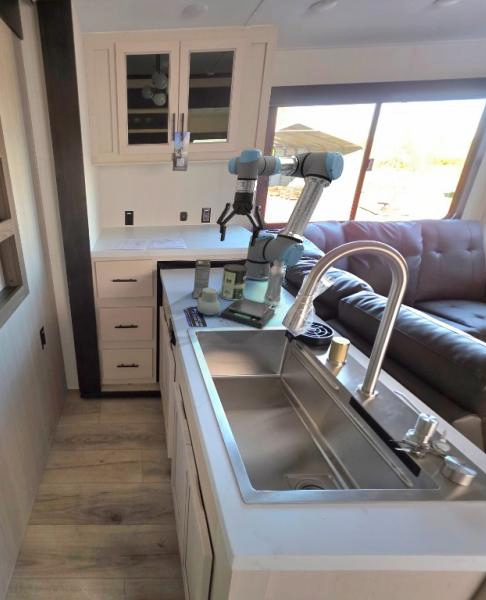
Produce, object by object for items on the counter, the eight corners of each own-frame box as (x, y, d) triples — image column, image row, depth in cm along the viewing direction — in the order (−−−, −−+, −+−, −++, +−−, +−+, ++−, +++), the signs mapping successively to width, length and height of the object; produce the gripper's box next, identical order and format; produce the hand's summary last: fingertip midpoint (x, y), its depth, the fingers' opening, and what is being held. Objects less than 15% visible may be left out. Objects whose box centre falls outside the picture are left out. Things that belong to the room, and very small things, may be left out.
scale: (236, 303, 138) (236, 298, 137) (274, 314, 129) (275, 308, 128) (220, 316, 127) (221, 311, 126) (261, 328, 117) (262, 323, 116)
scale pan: (240, 299, 136) (240, 297, 136) (271, 307, 128) (271, 305, 128) (228, 309, 127) (228, 307, 126) (260, 318, 119) (261, 316, 119)
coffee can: (243, 293, 149) (247, 265, 143) (243, 302, 140) (248, 271, 134) (220, 290, 152) (224, 262, 146) (219, 299, 143) (223, 269, 137)
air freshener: (219, 318, 125) (222, 295, 121) (197, 317, 126) (200, 294, 122) (216, 307, 135) (219, 285, 131) (196, 306, 136) (198, 284, 132)
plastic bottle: (272, 308, 133) (281, 263, 125) (259, 303, 139) (267, 259, 131) (282, 305, 136) (292, 261, 128) (269, 300, 141) (277, 257, 133)
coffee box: (193, 291, 152) (196, 258, 145) (206, 291, 151) (210, 259, 144) (192, 298, 143) (195, 264, 137) (207, 299, 142) (211, 265, 136)
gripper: (212, 190, 132) (206, 240, 140) (273, 194, 117) (263, 249, 126) (220, 189, 137) (214, 237, 146) (280, 193, 122) (269, 246, 131)
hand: (236, 243), depth 136 cm, fingers open, 13 cm apart
